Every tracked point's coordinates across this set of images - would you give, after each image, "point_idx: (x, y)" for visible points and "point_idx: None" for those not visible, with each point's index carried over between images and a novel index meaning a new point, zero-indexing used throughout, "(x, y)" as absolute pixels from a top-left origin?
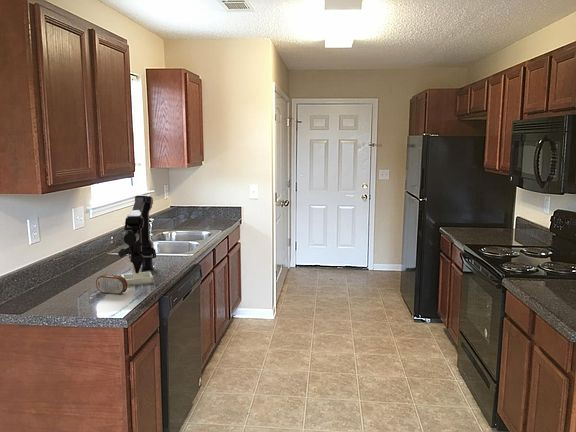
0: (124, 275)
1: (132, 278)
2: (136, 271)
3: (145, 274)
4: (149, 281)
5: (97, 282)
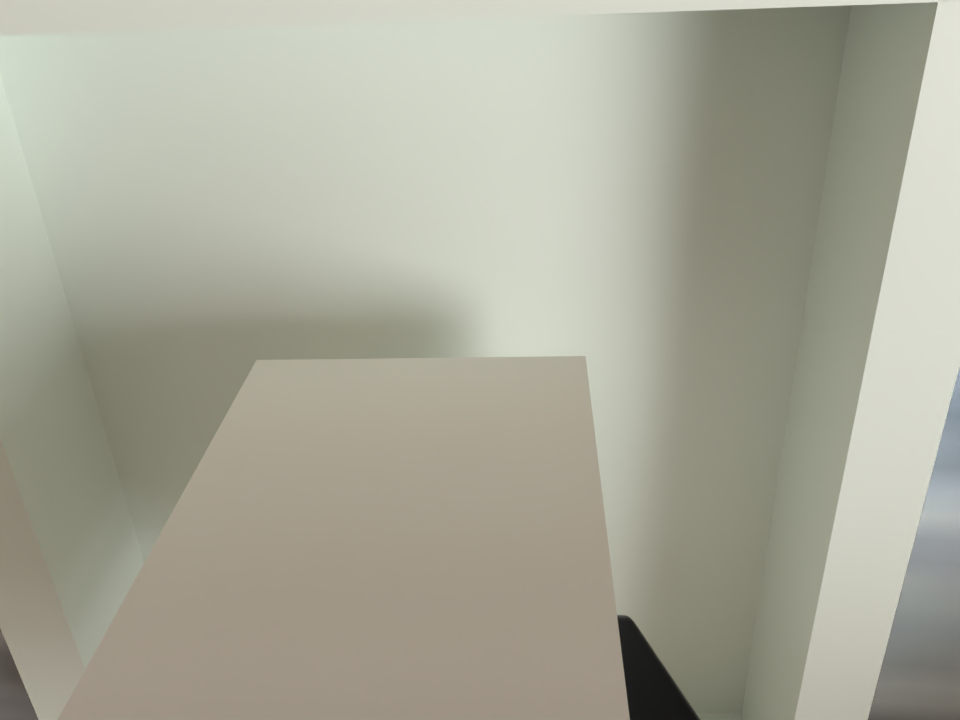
0: (901, 44)
1: (730, 311)
2: None
3: (767, 708)
4: None
5: None
